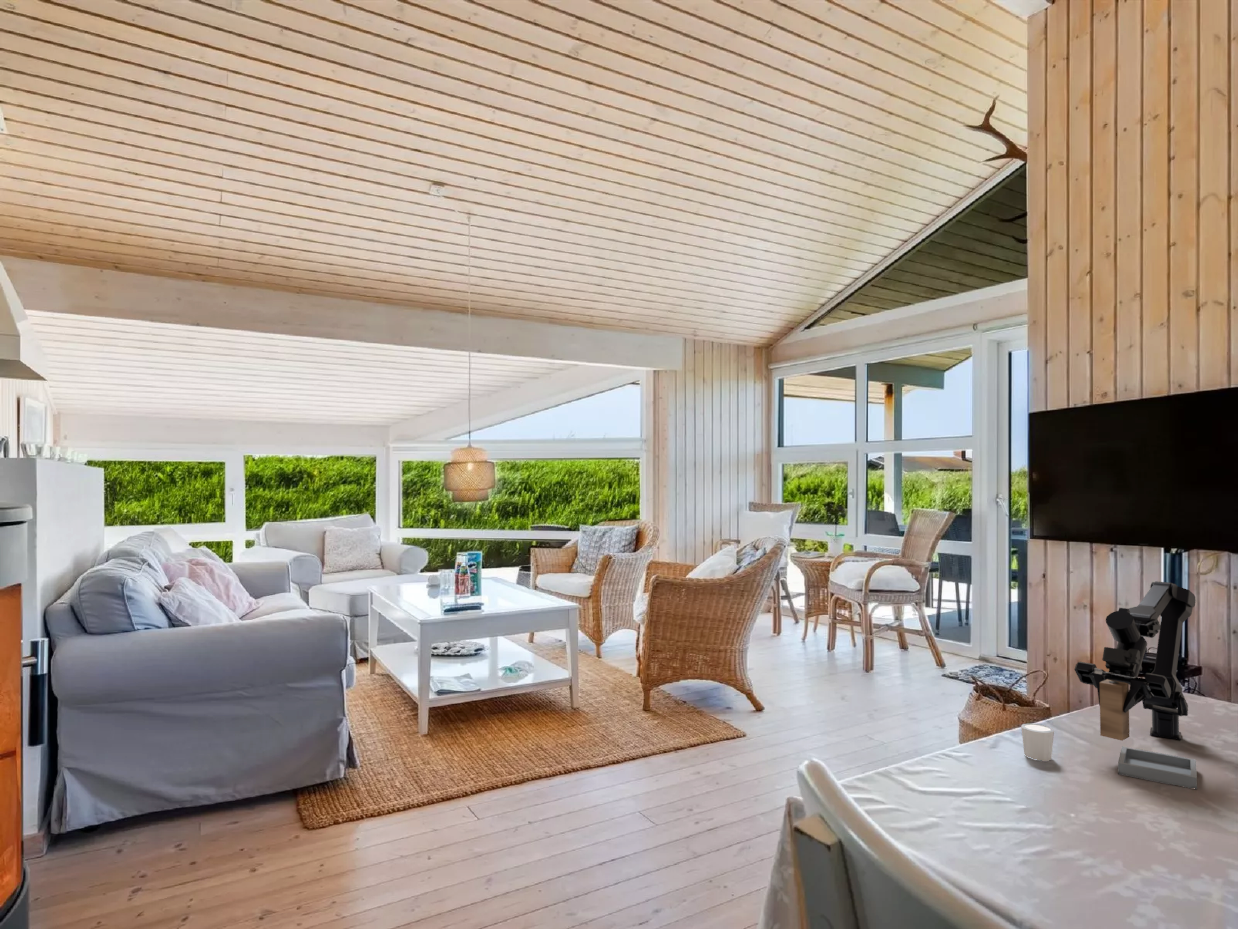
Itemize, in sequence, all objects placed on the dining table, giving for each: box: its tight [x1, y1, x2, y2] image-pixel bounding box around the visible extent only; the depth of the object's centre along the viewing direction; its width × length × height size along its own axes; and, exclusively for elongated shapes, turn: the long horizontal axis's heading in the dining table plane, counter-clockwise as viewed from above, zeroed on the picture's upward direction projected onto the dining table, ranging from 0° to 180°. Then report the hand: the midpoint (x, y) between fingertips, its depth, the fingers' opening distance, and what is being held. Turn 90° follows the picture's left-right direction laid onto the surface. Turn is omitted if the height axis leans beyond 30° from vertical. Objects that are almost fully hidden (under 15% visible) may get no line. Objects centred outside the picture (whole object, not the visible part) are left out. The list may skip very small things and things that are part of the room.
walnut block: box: [1099, 679, 1130, 742], centre depth 176 cm, size 4×4×13 cm
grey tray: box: [1117, 745, 1198, 790], centre depth 168 cm, size 14×14×2 cm
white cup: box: [1020, 723, 1055, 762], centre depth 178 cm, size 7×7×7 cm
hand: (1112, 708), depth 175 cm, fingers closed on walnut block, 4 cm apart
